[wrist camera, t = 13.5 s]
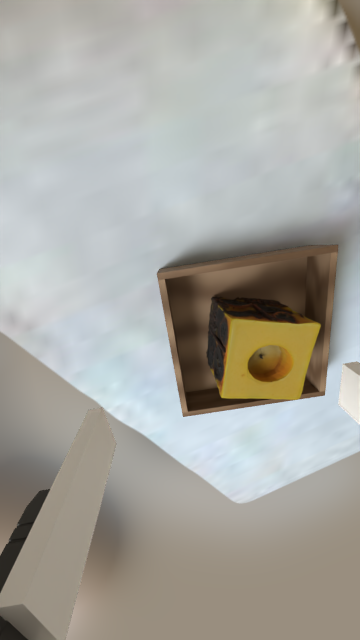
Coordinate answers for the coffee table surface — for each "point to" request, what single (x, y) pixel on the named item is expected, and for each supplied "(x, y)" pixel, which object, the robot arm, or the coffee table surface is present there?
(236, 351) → the candle
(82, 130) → the coffee table surface
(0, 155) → the coffee table surface
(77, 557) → the robot arm
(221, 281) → the crate
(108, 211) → the coffee table surface
